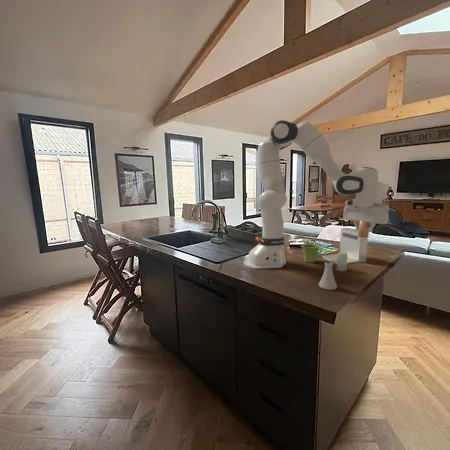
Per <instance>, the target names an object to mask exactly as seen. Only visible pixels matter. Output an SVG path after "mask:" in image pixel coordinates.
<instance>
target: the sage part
mask: <svg viewBox="0 0 450 450" xmlns="http://www.w3.org/2000/svg"><path fill="white" fill-rule="evenodd" d="M347 266H348V264H347V254H346V253H340V252H337V264H336V271H339V272H347V269H348V268H347Z"/></svg>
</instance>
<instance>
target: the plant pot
mask: <svg viewBox="0 0 450 450" xmlns="http://www.w3.org/2000/svg"><path fill="white" fill-rule="evenodd" d="M301 249H302V251H303V252H302V253H303V261H304V262H307V263H311V264H312V263H316V262H317V257H318V252H319V249H320V245H319V244H317V243H316V244H314V243H303V244H301Z"/></svg>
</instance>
